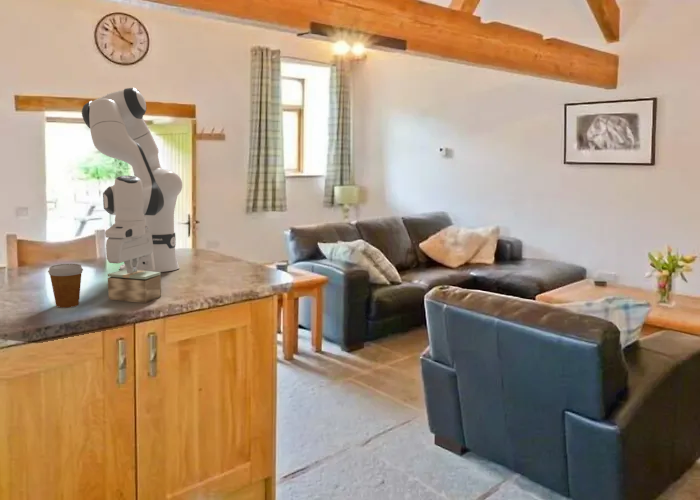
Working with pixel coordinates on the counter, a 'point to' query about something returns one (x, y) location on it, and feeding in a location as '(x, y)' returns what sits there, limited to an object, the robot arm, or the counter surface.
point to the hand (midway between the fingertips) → (132, 272)
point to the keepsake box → (134, 289)
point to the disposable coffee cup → (66, 284)
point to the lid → (134, 274)
